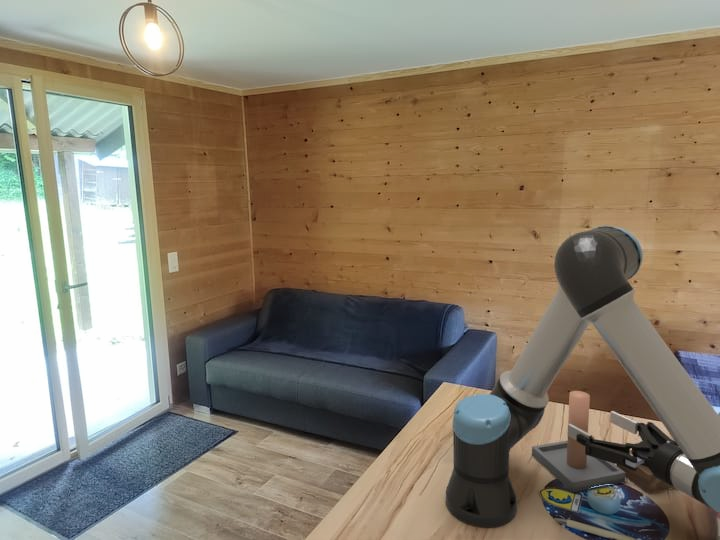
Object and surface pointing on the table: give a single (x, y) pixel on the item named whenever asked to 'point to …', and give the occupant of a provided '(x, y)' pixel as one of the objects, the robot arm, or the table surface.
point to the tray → (572, 478)
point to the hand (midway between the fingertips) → (590, 422)
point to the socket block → (645, 479)
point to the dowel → (580, 420)
